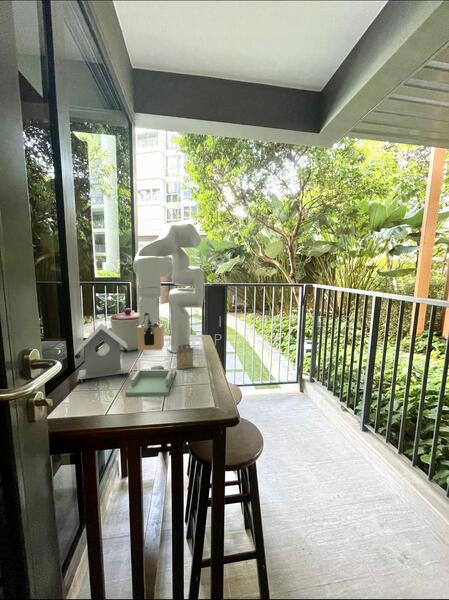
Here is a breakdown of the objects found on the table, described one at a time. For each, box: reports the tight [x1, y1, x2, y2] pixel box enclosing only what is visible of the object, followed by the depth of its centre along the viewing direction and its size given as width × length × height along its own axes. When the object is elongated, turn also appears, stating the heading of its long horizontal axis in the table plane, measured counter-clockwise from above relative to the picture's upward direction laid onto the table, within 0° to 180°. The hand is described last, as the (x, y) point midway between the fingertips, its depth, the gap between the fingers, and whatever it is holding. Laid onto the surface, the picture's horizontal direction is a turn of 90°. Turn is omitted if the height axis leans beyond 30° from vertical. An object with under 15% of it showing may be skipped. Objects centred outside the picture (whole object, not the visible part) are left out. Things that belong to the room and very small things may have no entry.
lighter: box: [176, 344, 194, 370], centre depth 115 cm, size 7×4×10 cm, turn 110°
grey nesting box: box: [74, 323, 130, 382], centre depth 106 cm, size 18×10×20 cm, turn 114°
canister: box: [108, 307, 140, 352], centre depth 140 cm, size 18×18×21 cm
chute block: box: [137, 323, 165, 351], centre depth 97 cm, size 5×8×8 cm, turn 92°
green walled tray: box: [125, 365, 177, 397], centre depth 101 cm, size 20×14×4 cm
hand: (151, 342), depth 97 cm, fingers closed on chute block, 5 cm apart
